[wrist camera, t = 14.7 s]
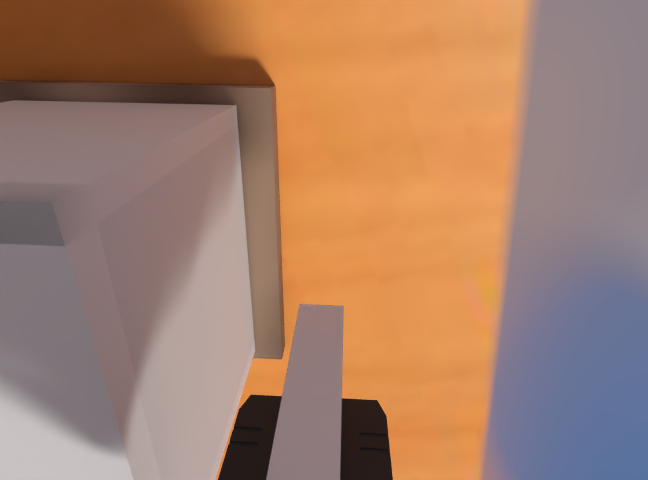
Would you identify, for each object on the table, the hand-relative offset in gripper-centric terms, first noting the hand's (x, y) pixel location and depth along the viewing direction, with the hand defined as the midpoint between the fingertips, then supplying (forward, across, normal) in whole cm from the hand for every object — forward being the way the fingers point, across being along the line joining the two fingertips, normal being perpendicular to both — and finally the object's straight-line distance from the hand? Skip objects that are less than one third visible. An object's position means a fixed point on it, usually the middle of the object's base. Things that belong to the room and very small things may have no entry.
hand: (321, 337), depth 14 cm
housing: (+7, -9, 0) cm, 11 cm away
